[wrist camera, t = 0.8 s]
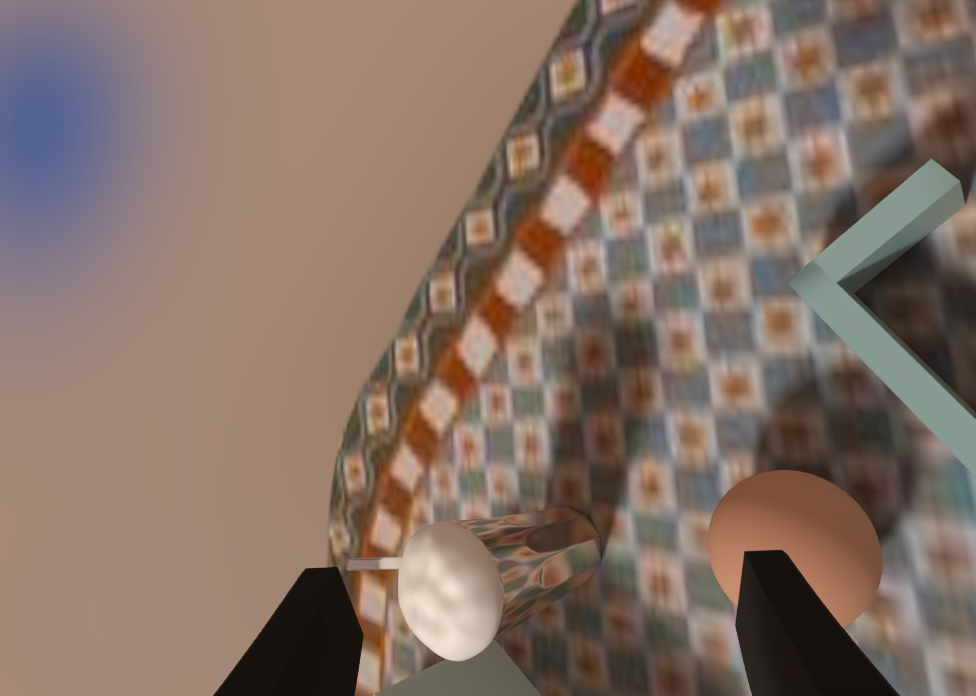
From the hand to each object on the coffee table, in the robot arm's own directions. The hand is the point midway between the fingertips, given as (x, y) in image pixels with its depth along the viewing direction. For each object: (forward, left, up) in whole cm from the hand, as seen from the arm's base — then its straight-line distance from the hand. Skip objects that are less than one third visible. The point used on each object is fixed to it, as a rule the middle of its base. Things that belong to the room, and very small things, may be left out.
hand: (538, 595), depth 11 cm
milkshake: (+3, +9, -15) cm, 18 cm away
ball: (-2, 0, -15) cm, 15 cm away
